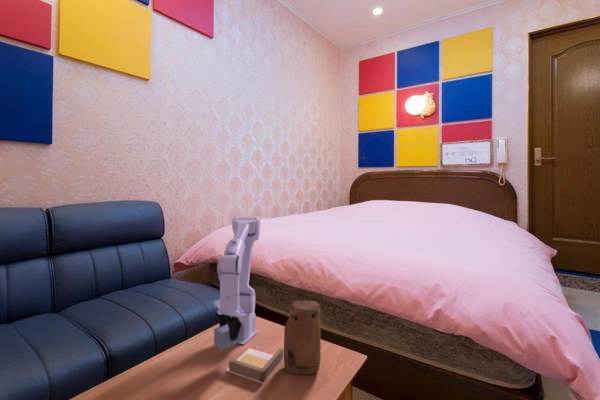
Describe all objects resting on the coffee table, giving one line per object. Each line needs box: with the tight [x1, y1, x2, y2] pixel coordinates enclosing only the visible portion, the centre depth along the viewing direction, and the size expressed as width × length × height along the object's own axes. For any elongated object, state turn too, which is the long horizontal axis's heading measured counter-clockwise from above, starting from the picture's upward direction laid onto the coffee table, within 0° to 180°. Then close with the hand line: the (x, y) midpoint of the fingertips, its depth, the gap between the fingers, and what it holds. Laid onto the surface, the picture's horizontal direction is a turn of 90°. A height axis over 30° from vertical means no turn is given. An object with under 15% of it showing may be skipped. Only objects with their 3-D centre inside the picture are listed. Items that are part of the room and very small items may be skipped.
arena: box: [225, 347, 284, 385], centre depth 88 cm, size 12×13×3 cm
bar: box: [213, 323, 244, 352], centre depth 88 cm, size 8×4×5 cm, turn 138°
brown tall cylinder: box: [283, 299, 322, 375], centre depth 86 cm, size 11×8×20 cm
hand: (229, 336), depth 88 cm, fingers closed on bar, 4 cm apart
